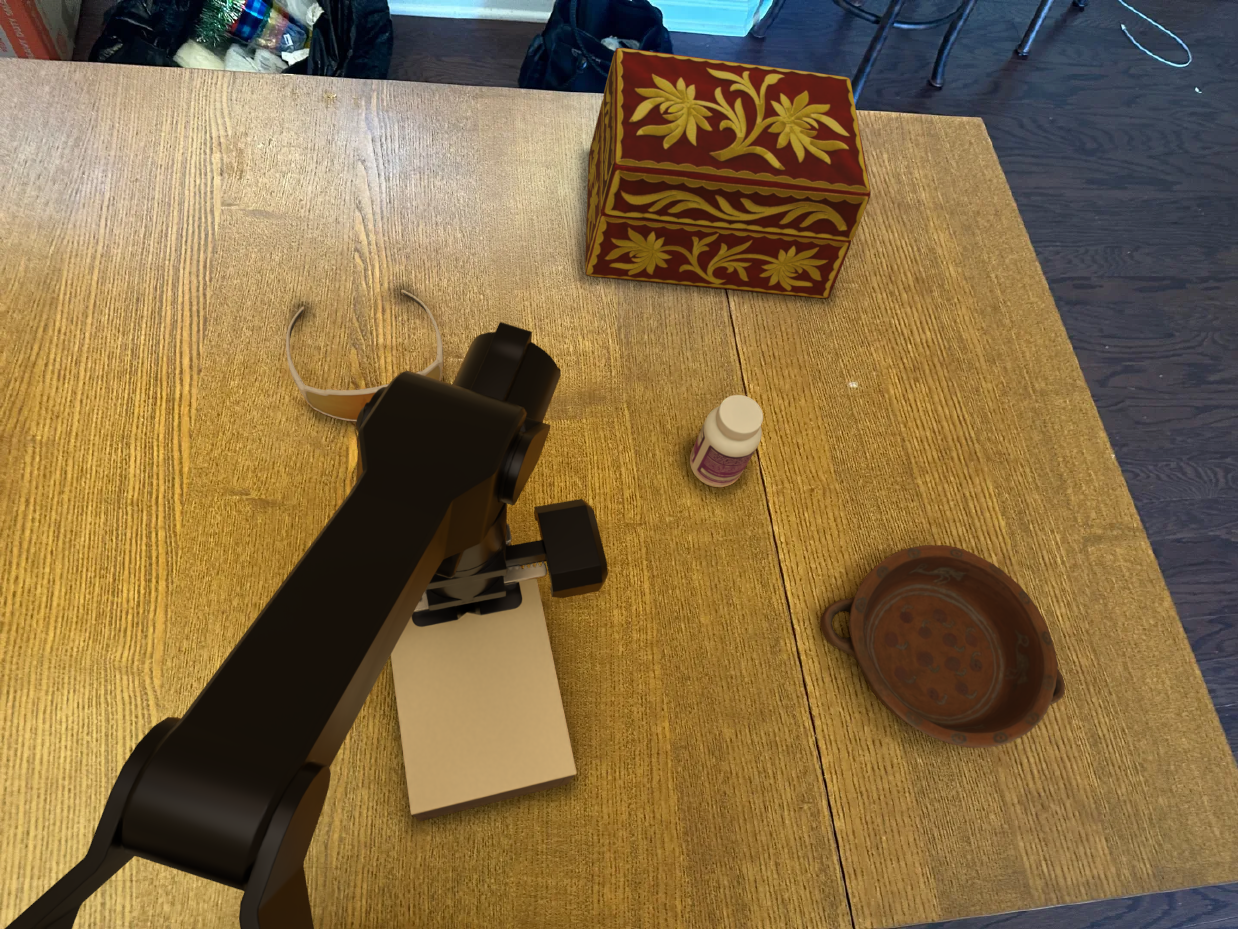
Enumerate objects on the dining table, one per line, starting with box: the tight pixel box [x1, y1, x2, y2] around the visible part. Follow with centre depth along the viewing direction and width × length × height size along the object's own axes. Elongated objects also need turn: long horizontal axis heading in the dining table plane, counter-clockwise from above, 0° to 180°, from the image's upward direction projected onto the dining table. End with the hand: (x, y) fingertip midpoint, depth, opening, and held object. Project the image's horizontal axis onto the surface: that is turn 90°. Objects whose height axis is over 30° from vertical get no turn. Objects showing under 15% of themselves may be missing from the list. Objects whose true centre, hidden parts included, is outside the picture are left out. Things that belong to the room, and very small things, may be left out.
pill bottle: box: [689, 394, 764, 488], centre depth 75 cm, size 5×5×10 cm
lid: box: [390, 578, 577, 816], centre depth 60 cm, size 15×12×1 cm
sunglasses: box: [285, 289, 444, 422], centre depth 78 cm, size 14×15×5 cm
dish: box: [819, 544, 1066, 749], centre depth 71 cm, size 17×22×5 cm
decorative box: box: [584, 47, 872, 299], centre depth 87 cm, size 28×19×15 cm
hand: (465, 605), depth 61 cm, fingers closed
